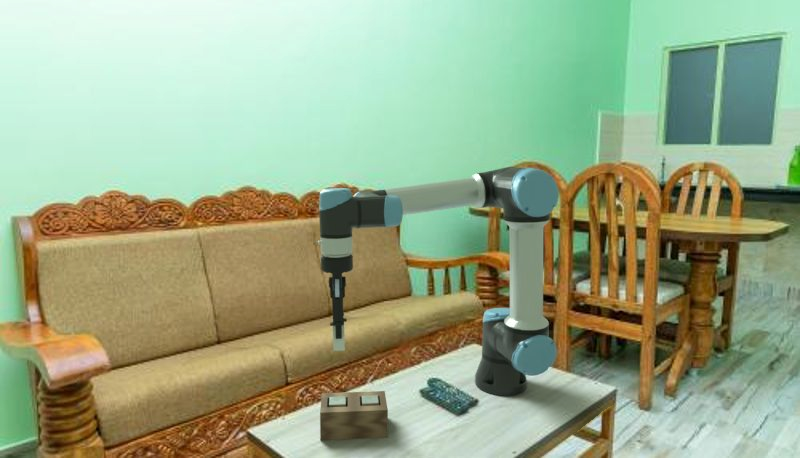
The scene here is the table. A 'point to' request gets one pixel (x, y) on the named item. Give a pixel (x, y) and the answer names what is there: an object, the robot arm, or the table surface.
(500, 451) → the table surface
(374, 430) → the wooden peg hole block
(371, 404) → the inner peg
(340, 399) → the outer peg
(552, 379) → the table surface
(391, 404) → the table surface
